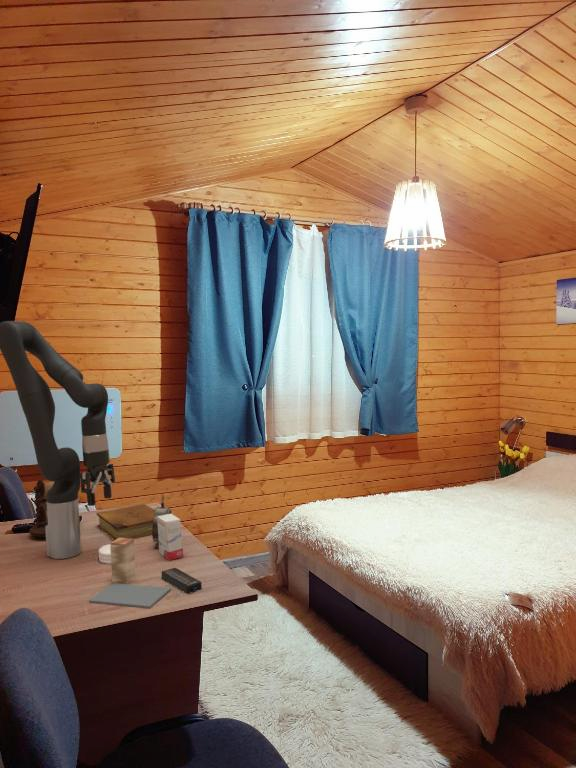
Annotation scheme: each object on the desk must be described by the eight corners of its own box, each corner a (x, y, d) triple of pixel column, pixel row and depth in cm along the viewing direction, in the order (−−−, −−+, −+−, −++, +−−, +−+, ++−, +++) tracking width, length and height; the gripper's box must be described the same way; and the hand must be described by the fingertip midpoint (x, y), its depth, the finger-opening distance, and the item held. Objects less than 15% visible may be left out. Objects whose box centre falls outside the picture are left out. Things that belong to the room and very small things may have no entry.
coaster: (94, 565, 172) (93, 553, 171) (105, 553, 181) (105, 542, 181) (127, 564, 171) (126, 552, 171) (137, 552, 181) (136, 541, 181)
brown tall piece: (62, 525, 213) (59, 471, 212) (83, 532, 203) (80, 476, 202) (22, 535, 202) (18, 479, 201) (42, 544, 192) (38, 484, 191)
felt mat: (89, 602, 145) (89, 600, 145) (113, 584, 156) (113, 583, 156) (149, 608, 140) (149, 606, 140) (170, 589, 151) (170, 588, 151)
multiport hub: (175, 575, 162) (175, 567, 162) (202, 590, 151) (202, 582, 151) (161, 579, 159) (160, 571, 159) (187, 595, 148) (187, 586, 148)
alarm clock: (158, 539, 193) (157, 491, 193) (174, 539, 193) (173, 490, 193) (151, 549, 182) (150, 497, 182) (168, 548, 182) (167, 497, 182)
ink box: (183, 557, 175) (182, 519, 174) (167, 561, 172) (165, 522, 171) (173, 549, 182) (172, 512, 181) (158, 553, 179) (156, 515, 179)
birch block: (112, 582, 157) (110, 543, 156) (121, 576, 161) (119, 537, 161) (126, 584, 156) (124, 544, 155) (135, 577, 160) (133, 538, 160)
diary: (170, 533, 201) (169, 516, 201) (117, 544, 191) (116, 527, 191) (146, 517, 220) (146, 502, 220) (97, 527, 210) (96, 511, 210)
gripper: (98, 445, 184) (102, 495, 184) (70, 453, 170) (75, 508, 171) (119, 445, 182) (123, 495, 182) (92, 453, 168) (97, 508, 169)
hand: (100, 501), depth 177 cm, fingers open, 8 cm apart
